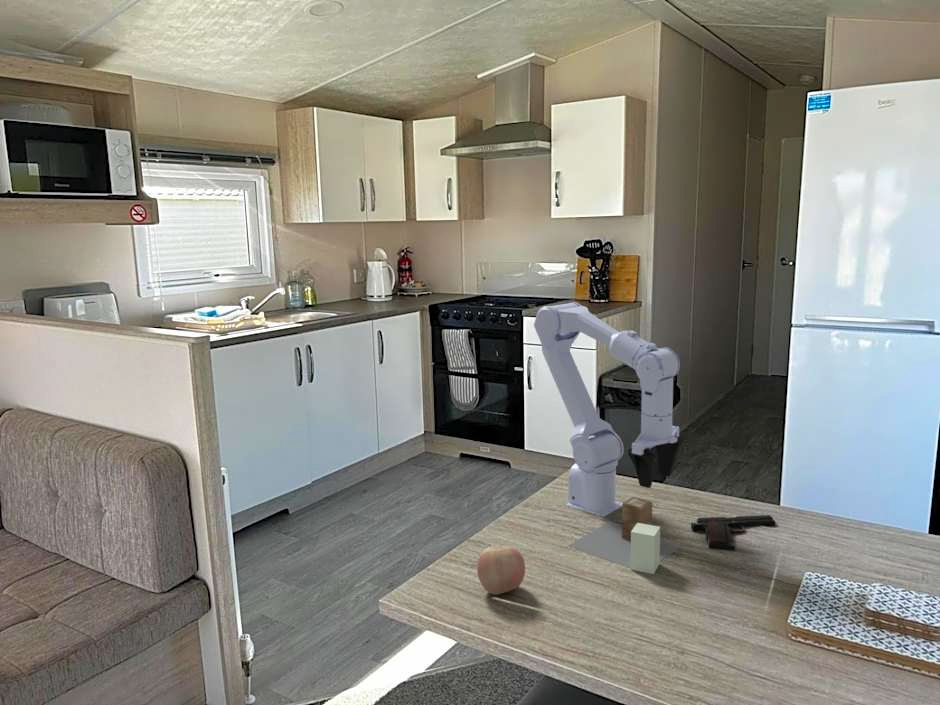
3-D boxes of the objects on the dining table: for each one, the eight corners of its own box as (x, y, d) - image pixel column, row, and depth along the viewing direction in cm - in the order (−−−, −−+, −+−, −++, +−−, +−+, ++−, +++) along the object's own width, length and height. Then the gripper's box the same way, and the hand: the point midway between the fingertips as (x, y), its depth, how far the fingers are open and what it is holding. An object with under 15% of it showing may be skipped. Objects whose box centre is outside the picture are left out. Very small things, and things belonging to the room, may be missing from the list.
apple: (530, 584, 122) (529, 540, 120) (517, 607, 115) (516, 561, 113) (485, 577, 124) (484, 534, 123) (470, 600, 117) (469, 554, 116)
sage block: (630, 569, 125) (630, 531, 123) (636, 559, 128) (637, 522, 127) (653, 574, 123) (654, 536, 121) (659, 564, 126) (660, 526, 125)
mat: (567, 547, 134) (567, 545, 134) (609, 523, 144) (609, 521, 144) (644, 575, 123) (644, 572, 123) (683, 546, 133) (683, 544, 133)
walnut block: (621, 538, 136) (622, 503, 135) (633, 531, 139) (633, 496, 138) (640, 544, 134) (641, 508, 132) (651, 537, 137) (652, 502, 135)
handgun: (803, 541, 132) (768, 512, 143) (713, 545, 129) (685, 515, 141) (801, 552, 132) (766, 523, 144) (712, 557, 130) (684, 526, 142)
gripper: (656, 425, 129) (655, 496, 131) (694, 407, 139) (692, 474, 142) (622, 418, 134) (621, 487, 136) (661, 402, 144) (659, 466, 146)
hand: (655, 480), depth 139 cm, fingers open, 7 cm apart
